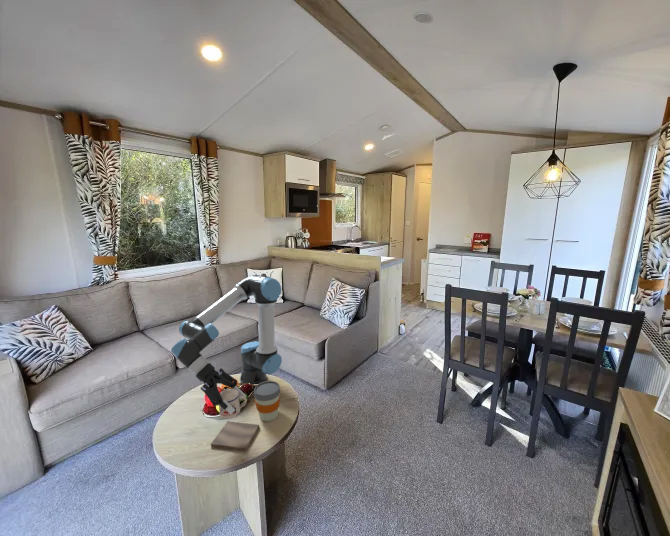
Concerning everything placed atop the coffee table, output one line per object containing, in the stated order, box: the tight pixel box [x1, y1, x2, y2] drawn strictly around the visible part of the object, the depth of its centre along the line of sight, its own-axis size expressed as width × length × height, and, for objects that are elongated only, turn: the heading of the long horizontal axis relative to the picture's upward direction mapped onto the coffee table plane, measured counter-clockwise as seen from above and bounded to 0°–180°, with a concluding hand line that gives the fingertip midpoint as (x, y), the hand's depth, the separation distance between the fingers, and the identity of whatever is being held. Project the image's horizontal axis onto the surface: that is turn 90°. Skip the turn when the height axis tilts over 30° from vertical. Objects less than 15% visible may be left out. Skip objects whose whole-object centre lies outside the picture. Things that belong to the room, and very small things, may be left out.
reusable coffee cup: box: [253, 380, 281, 422], centre depth 146 cm, size 12×13×15 cm
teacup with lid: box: [218, 387, 248, 420], centre depth 131 cm, size 12×9×12 cm
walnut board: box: [210, 420, 260, 452], centre depth 134 cm, size 14×16×2 cm
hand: (238, 404), depth 130 cm, fingers closed on teacup with lid, 9 cm apart
